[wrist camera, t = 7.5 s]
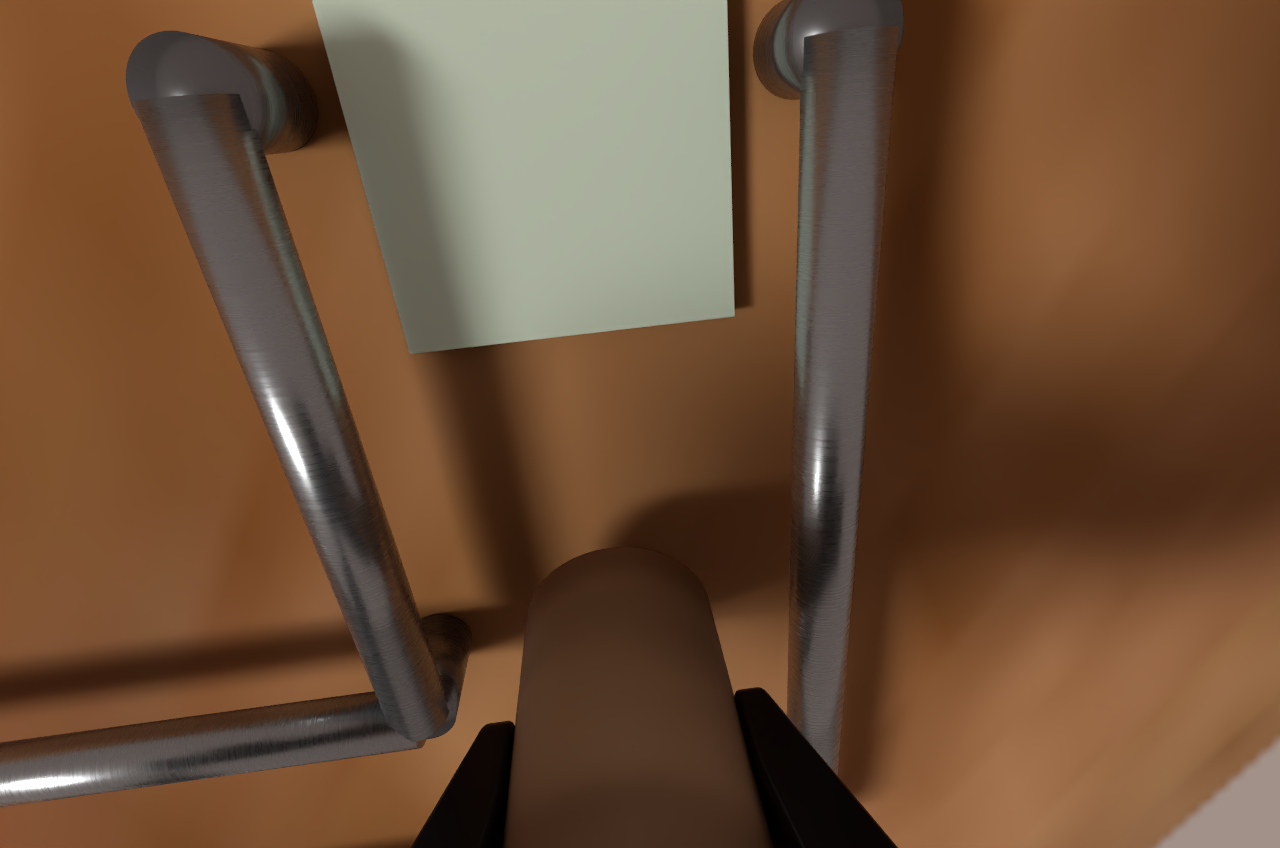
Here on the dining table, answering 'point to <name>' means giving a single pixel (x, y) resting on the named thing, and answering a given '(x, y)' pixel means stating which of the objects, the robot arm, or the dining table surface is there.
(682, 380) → the dining table surface
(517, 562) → the dining table surface
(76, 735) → the rail leg
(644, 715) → the walnut peg
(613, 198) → the sage coaster
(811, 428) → the rails leg
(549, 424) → the dining table surface
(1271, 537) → the dining table surface
